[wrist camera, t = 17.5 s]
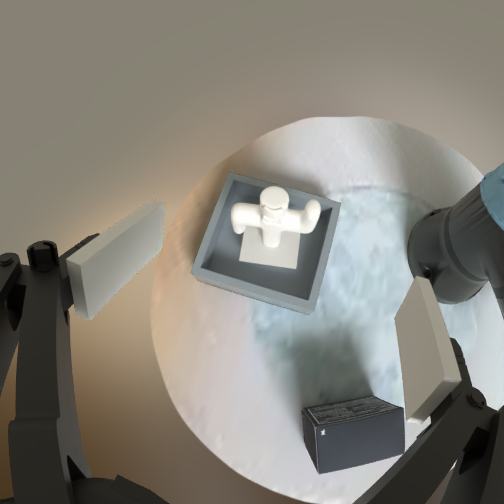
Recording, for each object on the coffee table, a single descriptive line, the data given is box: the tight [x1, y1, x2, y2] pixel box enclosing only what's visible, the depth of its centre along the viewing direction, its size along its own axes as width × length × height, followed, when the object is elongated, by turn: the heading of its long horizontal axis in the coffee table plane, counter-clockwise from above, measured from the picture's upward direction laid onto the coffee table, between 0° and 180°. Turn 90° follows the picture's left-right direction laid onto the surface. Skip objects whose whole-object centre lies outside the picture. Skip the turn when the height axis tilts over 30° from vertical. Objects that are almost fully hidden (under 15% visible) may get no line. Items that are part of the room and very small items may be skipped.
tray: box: [190, 172, 341, 315], centre depth 43 cm, size 16×15×5 cm
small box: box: [302, 396, 405, 474], centre depth 33 cm, size 11×6×10 cm, turn 96°
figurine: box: [231, 186, 321, 269], centre depth 38 cm, size 7×9×15 cm
